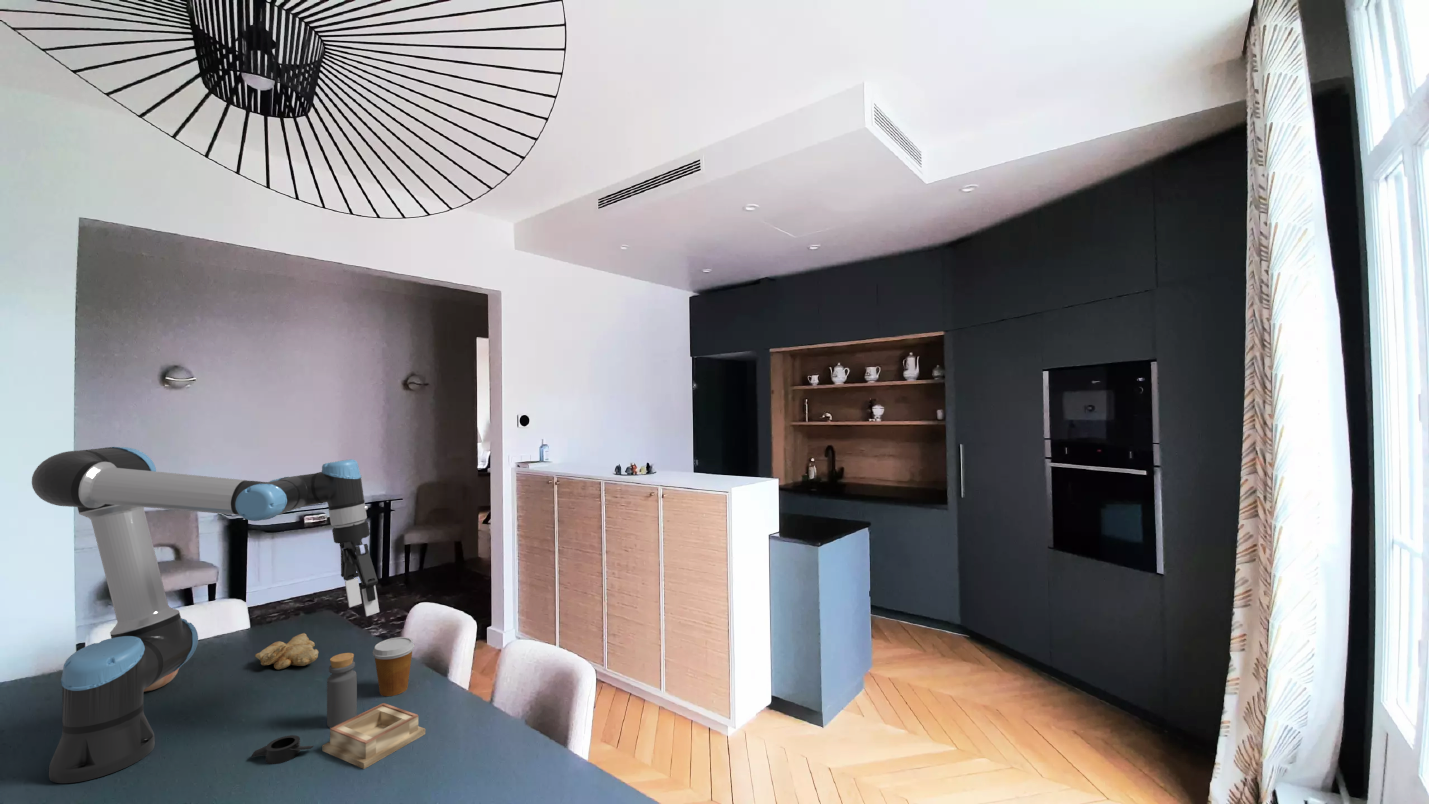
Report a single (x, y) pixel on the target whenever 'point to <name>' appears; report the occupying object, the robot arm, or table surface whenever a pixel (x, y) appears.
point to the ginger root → (289, 653)
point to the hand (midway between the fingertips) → (363, 609)
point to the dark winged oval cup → (281, 749)
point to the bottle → (341, 690)
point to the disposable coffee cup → (393, 664)
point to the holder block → (373, 735)
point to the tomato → (161, 681)
